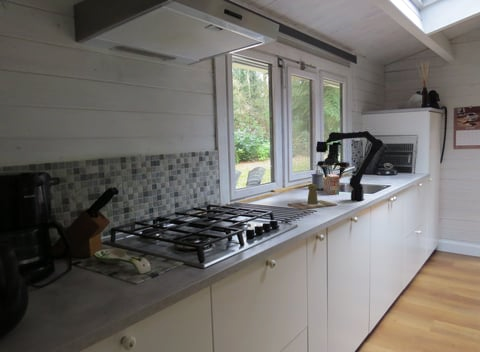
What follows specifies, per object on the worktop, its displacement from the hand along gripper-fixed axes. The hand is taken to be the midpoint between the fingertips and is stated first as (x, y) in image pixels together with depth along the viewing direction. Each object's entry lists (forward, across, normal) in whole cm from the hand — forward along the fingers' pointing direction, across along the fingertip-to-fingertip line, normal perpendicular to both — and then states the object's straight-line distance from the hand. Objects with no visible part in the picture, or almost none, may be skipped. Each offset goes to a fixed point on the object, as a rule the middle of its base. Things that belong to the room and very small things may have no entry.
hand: (332, 178), depth 227 cm
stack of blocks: (+13, -12, +24) cm, 30 cm away
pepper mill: (+12, 0, -26) cm, 29 cm away
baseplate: (+13, 0, -26) cm, 29 cm away
